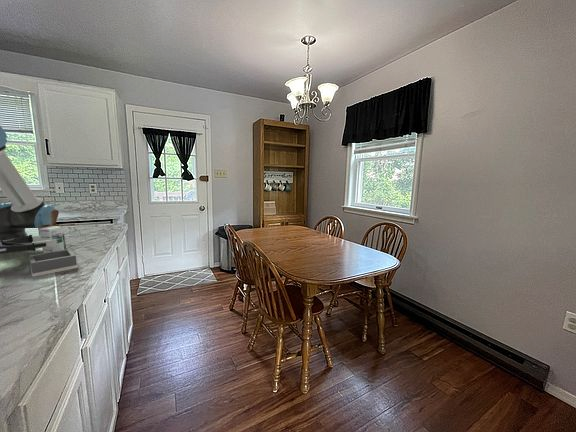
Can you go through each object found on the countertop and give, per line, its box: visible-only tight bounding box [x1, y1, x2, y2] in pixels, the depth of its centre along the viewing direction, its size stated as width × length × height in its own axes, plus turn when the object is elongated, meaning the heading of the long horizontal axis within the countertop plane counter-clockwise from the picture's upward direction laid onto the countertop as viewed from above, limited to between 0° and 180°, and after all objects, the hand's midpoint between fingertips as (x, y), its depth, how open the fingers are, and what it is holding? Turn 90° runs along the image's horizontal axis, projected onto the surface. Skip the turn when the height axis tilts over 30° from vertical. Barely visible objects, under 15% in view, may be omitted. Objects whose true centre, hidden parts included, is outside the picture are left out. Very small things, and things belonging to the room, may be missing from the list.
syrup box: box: [38, 226, 67, 254], centre depth 113 cm, size 6×6×14 cm
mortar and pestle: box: [37, 209, 63, 236], centre depth 124 cm, size 12×9×20 cm
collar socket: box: [28, 248, 79, 278], centre depth 103 cm, size 13×13×5 cm
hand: (54, 239), depth 113 cm, fingers open, 13 cm apart
